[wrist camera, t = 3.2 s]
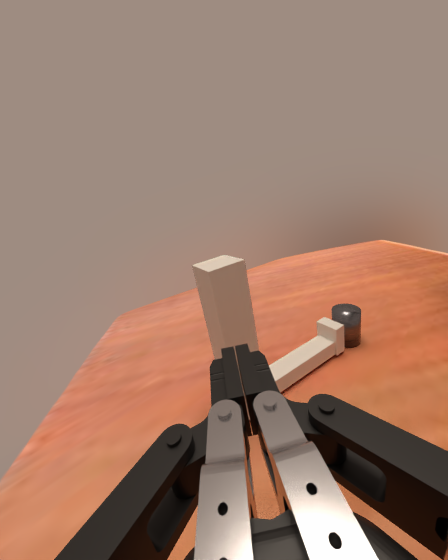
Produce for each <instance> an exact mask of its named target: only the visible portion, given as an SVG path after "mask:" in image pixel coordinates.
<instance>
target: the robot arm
mask: <svg viewBox="0 0 448 560" xmlns="http://www.w3.org/2000/svg"><path fill="white" fill-rule="evenodd" d="M235 351H236V355H235ZM221 353H222V358H220V359H215V360H213V362H212V364H211V366H210V381H211V404H212V406H211V409H210V411H209V414H208V416H207V418H206V419H205V420H204V421H202V422H201V423H199V424H198V425H196V426H194V427H192V428H189V427H188V426H187V425H184V424H175V425H172V426H170V427H168V428H167V429H166V430H165V431H164V432H163V433H162V434H161V435H160V436H159V437H158V438H157V440H156V441H155V442H154V443H153V444H152V445H151V447H150V448H149V449H148V450H147V451H146V452H145V454H144V455H143V456H142V457H141V458H140V460H139V461H138V462H137V463H136V464H135V465H134V467H133V468H132V469H131V470H130V471H129V472H128V474H127V475H126V476H125V477H124V478H123V479H122V481H121V482H120V483H119V484H118V485H117V486H116V488H115V489H114V490H113V491H112V492H111V494H110V495H109V496H108V497H107V498H106V499H105V501H104V502H103V503H102V504H101V505H100V506H99V508H98V509H97V510H96V511H95V512H94V513H93V515H92V516H91V517H90V518H89V519H88V520H87V522H86V523H85V524H84V525H83V526H82V528H81V529H80V530H79V531H78V532H77V533H76V535H75V536H74V537H73V538H72V539H71V540H70V542H69V543H68V544H67V545H66V546H65V547H64V549H63V550H62V551H61V552H60V553H59V554H58V556H57V557H56V558H55V559H54V560H167V559H168V557H169V555H170V553H171V551H172V550H173V548H174V546H175V544H176V543H177V541H178V539H179V537H180V535H181V534H182V532H183V530H184V528H185V527H186V525H187V523H188V521H189V520H190V518H191V516H192V514H193V512H194V511H195V509H196V507H197V505H198V512H197V526H196V539H195V547H194V548H193V549H192V550H191V551H190V552H189V553H188V555H187V556H186V557H185V559H184V560H418V559H417V558H415V557H414V556H413V555H412V554H411V553H409V552H408V551H407V550H406V549H404V548H403V547H402V546H401V545H400V544H398V543H397V542H396V541H395V540H393V539H392V538H391V537H390V536H389V535H387V534H386V533H385V532H384V531H382V530H381V529H380V528H379V527H377V526H376V525H375V524H373V523H372V522H370V521H369V520H367V519H366V518H364V517H362V516H360V515H358V514H357V513H354V512H352V511H351V509H350V507H349V505H348V503H347V501H346V500H345V498H344V496H343V494H342V492H341V491H340V489H339V487H338V485H337V483H336V482H335V481H337V482H338V483H339V484H341V485H342V486H343V487H345V488H346V489H347V490H349V491H350V492H351V493H353V494H354V495H356V496H357V497H358V498H360V499H361V500H362V501H364V502H365V503H366V504H368V505H369V506H370V507H372V508H373V509H375V510H376V511H377V512H379V513H380V514H381V515H383V516H384V517H385V518H387V519H388V520H389V521H391V522H392V523H393V524H395V525H396V526H398V527H399V528H400V529H402V530H403V531H404V532H406V533H407V534H408V535H410V536H411V537H412V538H414V539H415V540H417V541H418V542H419V543H421V544H422V545H423V546H425V547H426V548H427V549H429V550H430V551H431V552H433V553H434V554H436V555H437V556H438V557H440V558H441V559H442V560H448V451H446V450H444V449H442V448H440V447H438V446H436V445H434V444H431V443H429V442H427V441H425V440H423V439H421V438H419V437H417V436H415V435H413V434H411V433H409V432H406V431H404V430H402V429H400V428H398V427H396V426H394V425H392V424H390V423H388V422H386V421H384V420H382V419H379V418H377V417H375V416H373V415H371V414H369V413H367V412H365V411H363V410H361V409H359V408H357V407H355V406H352V405H350V404H348V403H346V402H344V401H342V400H340V399H338V398H336V397H334V396H331V395H328V394H318V395H315V396H313V397H312V398H311V399H310V400H309V402H308V403H299V402H293V401H290V400H288V399H286V398H285V397H284V396H283V395H281V393H280V392H279V389H278V387H277V385H276V382H275V380H274V377H273V375H272V372H271V370H270V368H269V365H268V363H267V360H266V358H265V355H263V354H262V353H261V352H260V351H259V350H258V351H254V352H250V350H249V347H248V344H247V343H246V344H241V345H236V346H235V350H234V346H232V347H227V348H222V349H221ZM236 356H237V360H236ZM237 361H238V364H237ZM238 366H239V369H238ZM239 371H240V373H239ZM240 376H241V378H240ZM241 381H242V383H241ZM242 386H243V387H242ZM243 390H244V392H243ZM244 395H245V396H244ZM245 399H246V402H245ZM246 404H247V407H246ZM247 408H248V412H247ZM248 413H249V417H250V422H251V426H252V431H253V435H257V434H258V436H259V441H260V445H261V451H262V455H263V458H264V461H265V464H266V467H267V471H268V474H269V477H270V480H271V483H272V486H273V490H274V493H275V496H276V499H277V503H278V506H279V510H280V515H279V516H277V517H276V518H274V519H271V520H267V519H258V517H257V511H256V503H255V494H254V486H253V477H252V468H251V460H250V445H249V440H248V436H252V433H251V428H250V423H249V417H248Z"/></svg>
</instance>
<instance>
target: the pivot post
mask: <svg viewBox="0 0 448 560" xmlns="http://www.w3.org/2000/svg"><path fill="white" fill-rule="evenodd" d="M332 320H333V321H335V322H338V323H340V324H343V325H344V347H346V348H352V347H356V346H358V345H359V344H360V338H361V309H360V308H359V307H357V306H355V305H352V304H338V305H335V306H333V307H332Z"/></svg>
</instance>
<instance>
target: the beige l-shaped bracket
mask: <svg viewBox="0 0 448 560" xmlns="http://www.w3.org/2000/svg"><path fill="white" fill-rule="evenodd" d="M192 267H193V271H194V275H195V279H196V284H197V288H198V292H199V296H200V300H201V304H202V308H203V312H204V317H205V321H206V325H207V329H208V333H209V337H210V341H211V345H212V349H213V354H214V358H215V359H220V358H222V353H221V349H222V348H227V347H232V346H234V350H235V346H236V345H241V344H246V343H247V344H248V347H249V350H250V352H254V351H258V350H259V346H258V340H257V334H256V328H255V322H254V316H253V309H252V303H251V297H250V291H249V285H248V278H247V272H246V266H245V261H244V259H240V258H236V257H231V256H226V255H222V256H219V257H216V258H213V259H210V260H207V261H204V262H201V263H198V264H195V265H193V266H192ZM343 351H344V325H343V324H340V323H338V322H335V321H333V320H330V319H328V318H325V317H324V318H322V319H320V320H318V321H317V336H316V337H315V338H313V339H311V340H310V341H308V342H306V343H305V344H303V345H302V346H300V347H298V348H297V349H295V350H293V351H292V352H290V353H289V354H287V355H285V356H284V357H282V358H280V359H279V360H277V361H276V362H274V363H272V364H271V365H269V368H270V370H271V372H272V375H273V377H274V380H275V382H276V385H277V387H278V389H279V392H280V393H281V392H282V391H283V390H285V389H286V388H288V387H289V386H291V385H292V384H293V383H295V382H296V381H298V380H299V379H301V378H302V377H303V376H305V375H306V374H308V373H309V372H311V371H312V370H313V369H315V368H316V367H318V366H319V365H321V364H322V363H324V362H325V361H326V360H328V359H329V358H331V357H332V356H334V355H339V354H340V353H341V352H343ZM235 355H236V351H235ZM236 360H237V356H236ZM237 364H238V361H237ZM238 369H239V366H238ZM239 373H240V371H239ZM240 378H241V376H240ZM241 383H242V381H241ZM242 387H243V386H242ZM243 392H244V390H243ZM244 396H245V395H244ZM245 402H246V399H245ZM246 407H247V404H246ZM247 412H248V408H247ZM248 417H249V413H248ZM249 420H250V417H249Z"/></svg>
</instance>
